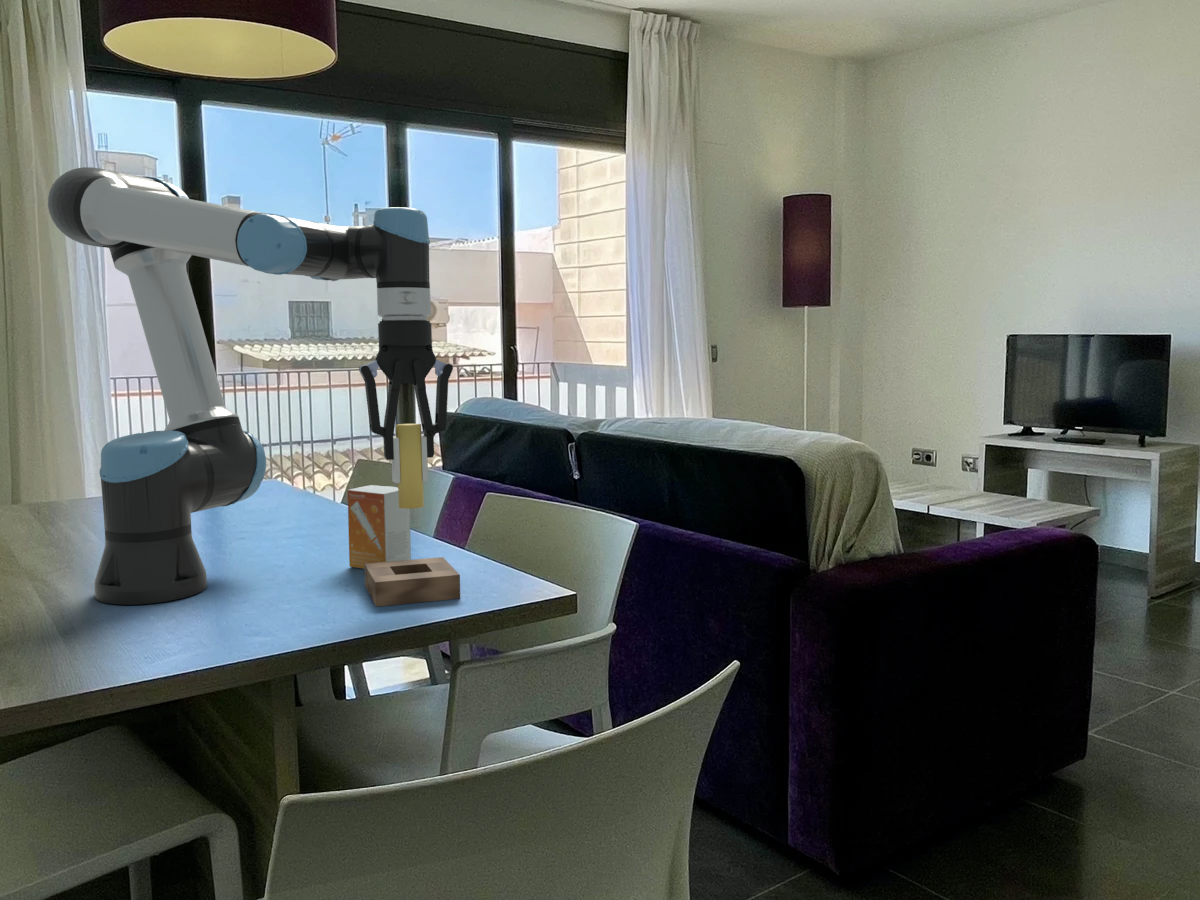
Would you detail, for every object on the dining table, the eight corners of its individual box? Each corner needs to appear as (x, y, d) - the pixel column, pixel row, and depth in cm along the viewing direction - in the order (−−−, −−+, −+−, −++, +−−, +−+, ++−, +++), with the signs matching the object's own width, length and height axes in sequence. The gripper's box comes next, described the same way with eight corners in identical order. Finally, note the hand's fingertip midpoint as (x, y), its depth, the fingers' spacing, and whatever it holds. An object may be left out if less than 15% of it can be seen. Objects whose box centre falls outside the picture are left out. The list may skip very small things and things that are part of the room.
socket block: (376, 606, 136) (375, 582, 136) (365, 586, 148) (364, 563, 147) (460, 598, 141) (459, 574, 140) (443, 579, 152) (443, 557, 151)
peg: (401, 509, 140) (398, 426, 138) (396, 505, 143) (393, 424, 142) (426, 507, 141) (423, 425, 140) (421, 503, 144) (418, 423, 143)
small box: (348, 567, 159) (346, 489, 158) (375, 560, 165) (373, 484, 163) (386, 573, 155) (384, 493, 154) (412, 565, 161) (410, 487, 159)
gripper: (349, 318, 133) (355, 488, 136) (466, 318, 139) (470, 481, 141) (343, 319, 140) (349, 481, 143) (455, 319, 146) (459, 474, 148)
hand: (410, 480), depth 142 cm, fingers closed on peg, 3 cm apart
